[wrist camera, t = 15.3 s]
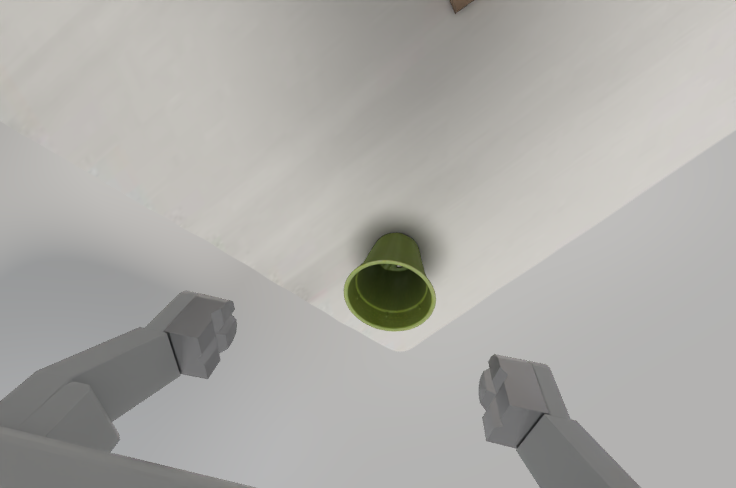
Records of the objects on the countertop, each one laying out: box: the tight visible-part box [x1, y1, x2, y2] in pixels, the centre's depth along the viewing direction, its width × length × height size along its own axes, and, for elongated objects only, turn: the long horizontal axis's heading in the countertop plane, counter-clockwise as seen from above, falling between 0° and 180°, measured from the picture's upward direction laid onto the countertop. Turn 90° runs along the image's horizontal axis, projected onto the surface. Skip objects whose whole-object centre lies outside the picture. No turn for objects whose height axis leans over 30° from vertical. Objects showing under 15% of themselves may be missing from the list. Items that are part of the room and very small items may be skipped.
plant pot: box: [344, 233, 436, 331], centre depth 45 cm, size 12×12×11 cm
